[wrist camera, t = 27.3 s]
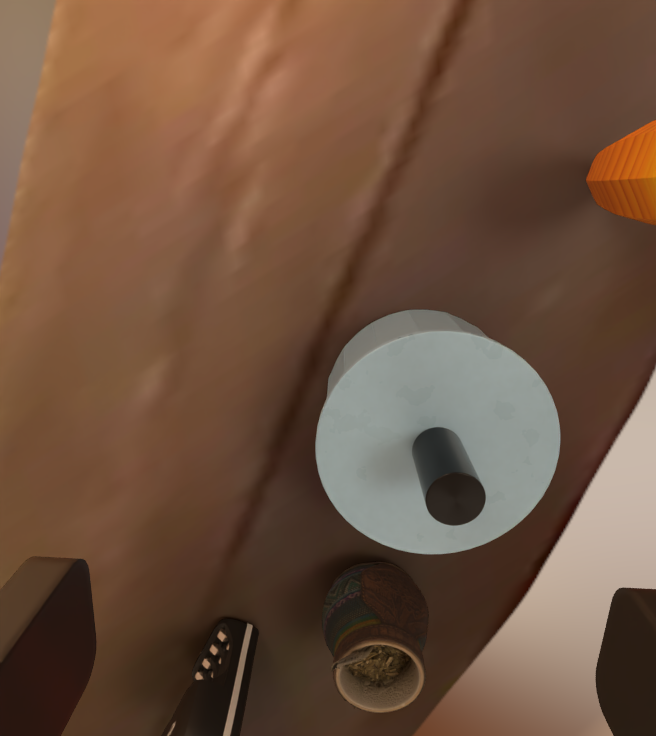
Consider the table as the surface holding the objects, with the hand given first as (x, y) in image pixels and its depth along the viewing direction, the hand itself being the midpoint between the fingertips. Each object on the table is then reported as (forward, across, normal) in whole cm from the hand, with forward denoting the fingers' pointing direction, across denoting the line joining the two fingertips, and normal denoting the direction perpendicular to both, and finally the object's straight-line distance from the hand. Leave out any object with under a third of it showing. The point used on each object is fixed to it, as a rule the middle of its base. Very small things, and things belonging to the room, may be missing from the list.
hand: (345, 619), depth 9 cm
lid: (+20, -5, +6) cm, 22 cm away
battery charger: (+27, +8, +27) cm, 39 cm away
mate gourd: (+28, -3, +21) cm, 35 cm away
